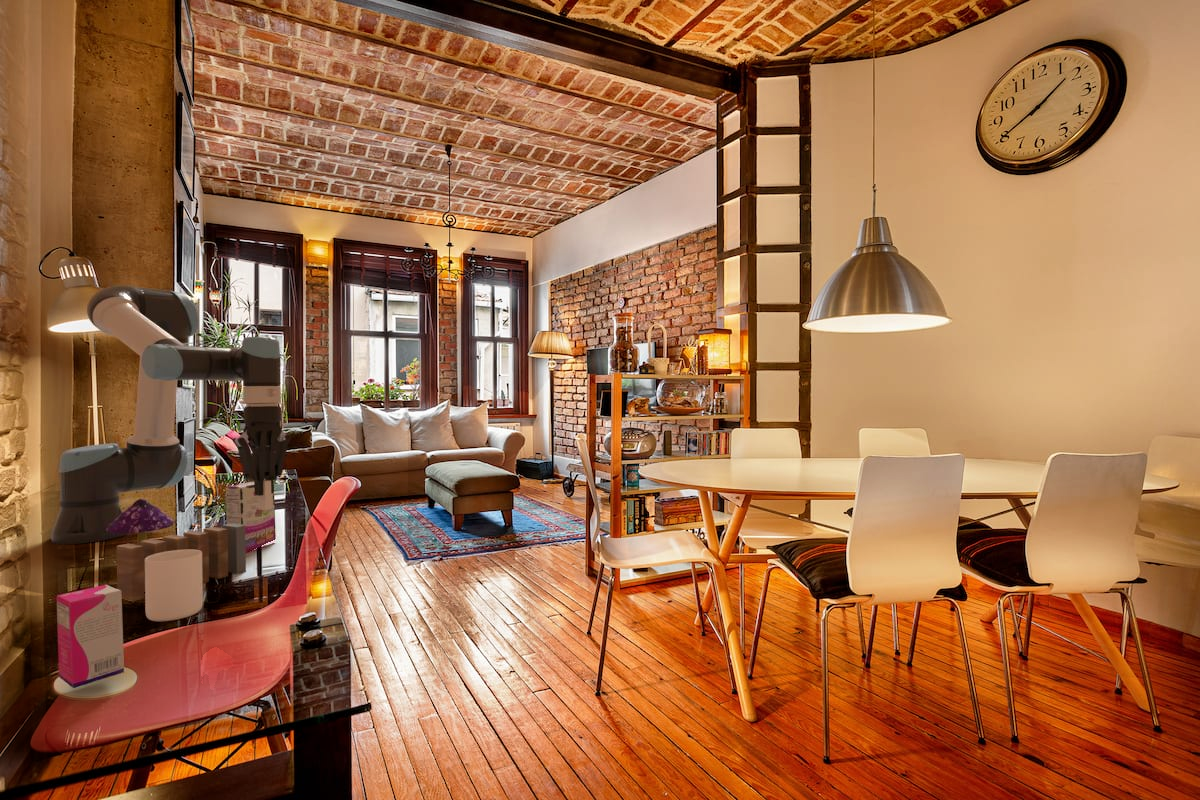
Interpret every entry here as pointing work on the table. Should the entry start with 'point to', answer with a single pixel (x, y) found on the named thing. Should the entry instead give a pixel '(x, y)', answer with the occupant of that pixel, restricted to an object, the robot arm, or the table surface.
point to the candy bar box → (250, 515)
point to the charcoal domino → (236, 548)
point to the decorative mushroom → (140, 520)
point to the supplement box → (90, 635)
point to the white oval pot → (173, 584)
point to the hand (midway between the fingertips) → (264, 509)
